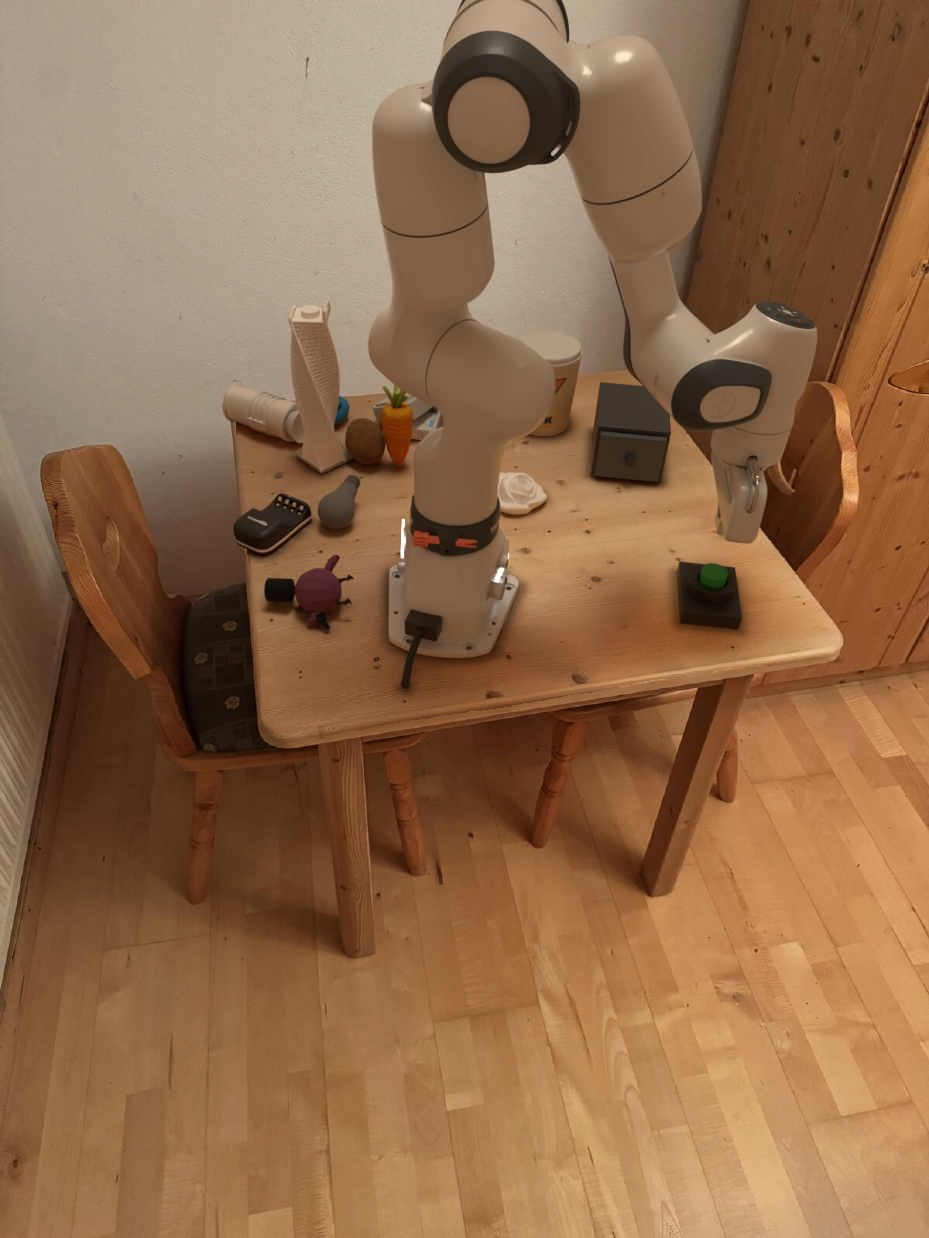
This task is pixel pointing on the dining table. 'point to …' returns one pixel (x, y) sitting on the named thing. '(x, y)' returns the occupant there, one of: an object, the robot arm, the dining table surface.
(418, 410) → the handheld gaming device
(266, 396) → the white ribbed cylinder
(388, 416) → the carrot
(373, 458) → the potato
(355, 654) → the dining table surface
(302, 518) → the battery charger
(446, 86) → the robot arm
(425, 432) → the ink cartridge box
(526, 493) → the rose
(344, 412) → the ornament
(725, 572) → the button
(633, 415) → the cabinet
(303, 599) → the figurine
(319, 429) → the skyscraper
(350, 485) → the light bulb
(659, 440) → the drawer
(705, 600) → the control block
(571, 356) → the coffee cup
